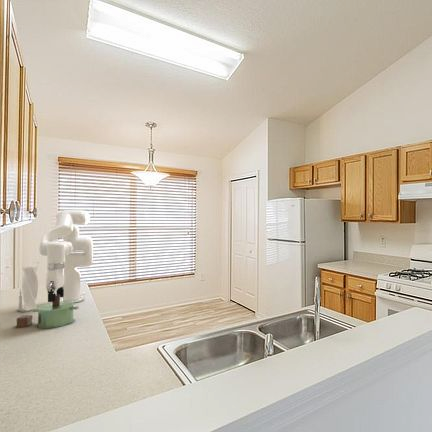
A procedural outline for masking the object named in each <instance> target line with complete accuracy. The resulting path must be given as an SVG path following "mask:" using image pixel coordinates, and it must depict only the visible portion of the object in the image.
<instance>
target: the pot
mask: <svg viewBox="0 0 432 432" xmlns="http://www.w3.org/2000/svg"><path fill="white" fill-rule="evenodd" d="M79 308H80V306H78V305H76V306H75V305H74V306H72V307H70V308H66V309H62V310H56V311H38V310H37V309H34V310H32V313H37V327H38V328H39V329H53V328H59V327H64V326H67V325H69V324H72V323H73V322H74V310H78V309H79Z"/></svg>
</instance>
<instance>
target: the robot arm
mask: <svg viewBox="0 0 432 432" xmlns="http://www.w3.org/2000/svg"><path fill="white" fill-rule="evenodd" d="M55 217H56V221H55V225H54V227H53V228H51V229H50V230H49V231H47V232H46V233H44V235H43V236H42V237H41V239H40V243H39V247H38V248H39V254H40V255H41V256H44V257H46V270H47V273H46V279H45V280H46V282H45V290H47V291H46V292H47V302H48V303H52V302H55V301H56V295H58V294H59V295H60V298H61V299H60V302H73V303H74V304H75V303H79V302H82V301H83V300H84V298H83V296H84V295H86V292H85V291H82V292H81V272H80V271H79V269H78V268H86V267H91V266H92V265H93V263H94V244H93V242H94V241H93V239H92V237H91V236H88V235H80V228H79V227H78V225H79V226H80V225H88V223H89V222H90V214H89V211H87V210H84V209H83V210H81V209H63V210H61V211H58V212H57V213H56V215H55ZM59 239H63V241H58V240H59ZM55 240H57V241H55Z"/></svg>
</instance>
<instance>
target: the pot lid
mask: <svg viewBox="0 0 432 432" xmlns="http://www.w3.org/2000/svg"><path fill="white" fill-rule="evenodd" d="M60 300H61V297H60V295H59V294H58V295H56V301H55V302H49V303H46V304H42V305H39V306H37V310H38V311H56V310H62V309H66V308H70V307H72V306H73V307H75V303H73V302H60Z"/></svg>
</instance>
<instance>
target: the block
mask: <svg viewBox="0 0 432 432" xmlns="http://www.w3.org/2000/svg"><path fill="white" fill-rule="evenodd" d="M32 324H33V315H32V314H26V315H20V316H18V317H16V328H28V327H29V326H31V325H32Z"/></svg>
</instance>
